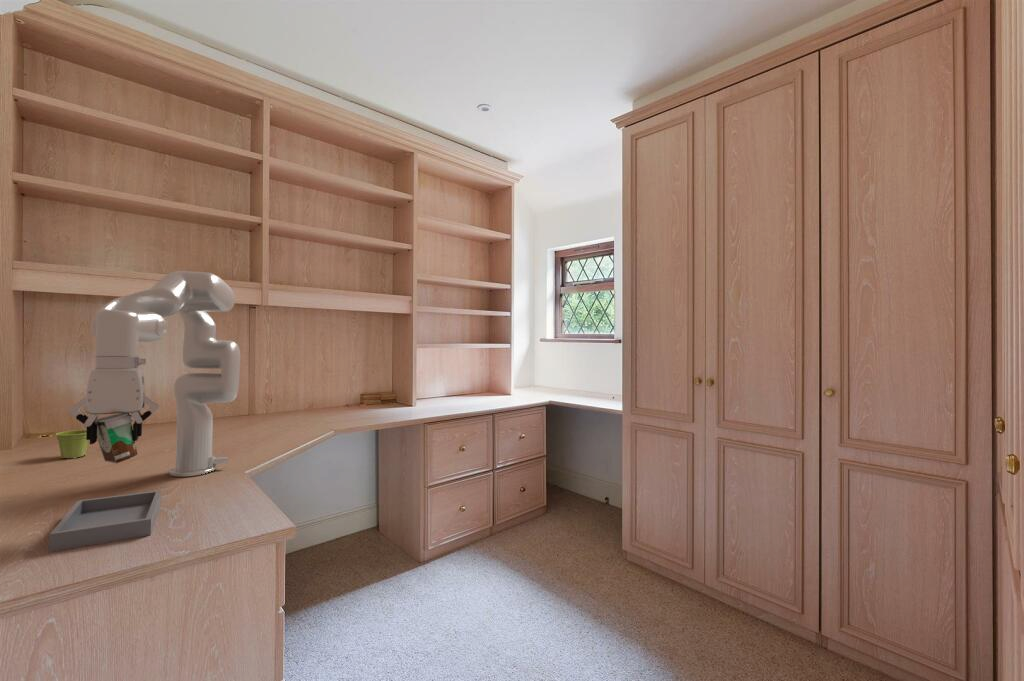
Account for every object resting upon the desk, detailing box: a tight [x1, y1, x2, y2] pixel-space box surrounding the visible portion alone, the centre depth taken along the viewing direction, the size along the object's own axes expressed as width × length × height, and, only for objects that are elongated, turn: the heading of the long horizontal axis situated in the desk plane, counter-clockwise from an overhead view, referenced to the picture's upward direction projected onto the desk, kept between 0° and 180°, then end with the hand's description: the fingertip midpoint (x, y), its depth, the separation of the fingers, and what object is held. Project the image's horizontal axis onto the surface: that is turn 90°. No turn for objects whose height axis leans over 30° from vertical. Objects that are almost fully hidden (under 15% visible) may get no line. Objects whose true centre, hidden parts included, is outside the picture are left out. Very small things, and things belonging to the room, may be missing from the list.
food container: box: [95, 413, 138, 464], centre depth 107 cm, size 12×6×10 cm, turn 53°
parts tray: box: [49, 489, 162, 552], centre depth 105 cm, size 16×22×4 cm
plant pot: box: [55, 429, 89, 459], centre depth 161 cm, size 9×9×9 cm
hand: (114, 440), depth 105 cm, fingers closed on food container, 6 cm apart
